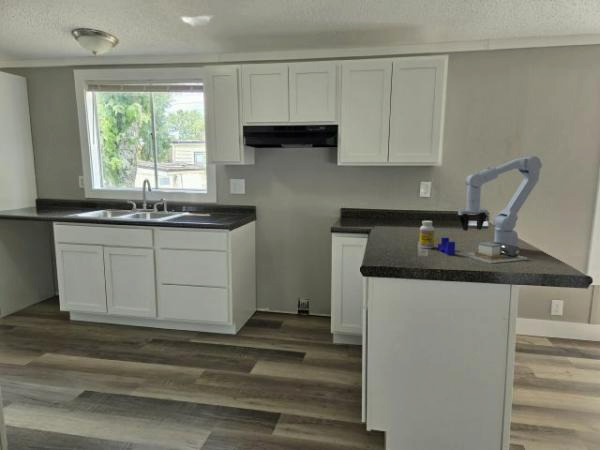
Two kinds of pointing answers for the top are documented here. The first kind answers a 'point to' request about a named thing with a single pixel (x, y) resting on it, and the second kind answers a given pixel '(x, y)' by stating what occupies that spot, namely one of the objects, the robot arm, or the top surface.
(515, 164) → the robot arm
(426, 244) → the supplement bottle
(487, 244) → the block
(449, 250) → the cable clip
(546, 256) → the top surface
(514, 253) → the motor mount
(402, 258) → the top surface
